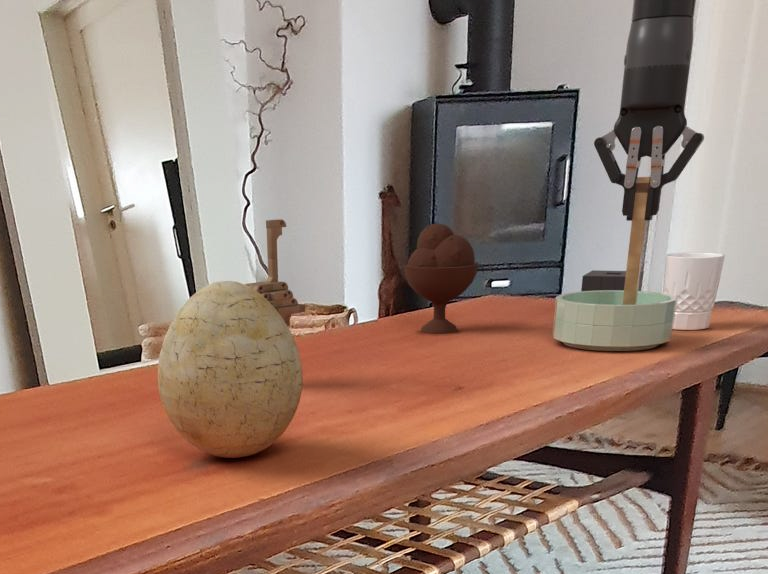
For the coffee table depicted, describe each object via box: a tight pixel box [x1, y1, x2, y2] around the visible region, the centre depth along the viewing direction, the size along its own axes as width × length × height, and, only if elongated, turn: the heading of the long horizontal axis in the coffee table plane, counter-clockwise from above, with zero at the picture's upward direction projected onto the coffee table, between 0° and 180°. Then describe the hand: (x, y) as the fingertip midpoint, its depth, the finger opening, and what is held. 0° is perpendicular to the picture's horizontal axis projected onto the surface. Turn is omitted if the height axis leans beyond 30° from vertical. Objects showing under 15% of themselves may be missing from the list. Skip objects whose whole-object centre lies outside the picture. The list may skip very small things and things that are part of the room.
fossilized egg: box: [156, 280, 304, 459], centre depth 85 cm, size 13×13×15 cm
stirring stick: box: [622, 176, 651, 305], centre depth 126 cm, size 2×2×18 cm
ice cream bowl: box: [403, 222, 480, 334], centre depth 144 cm, size 11×11×15 cm
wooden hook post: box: [244, 218, 306, 327], centre depth 109 cm, size 17×7×18 cm, turn 132°
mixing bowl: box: [551, 290, 678, 352], centre depth 132 cm, size 16×16×6 cm
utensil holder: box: [580, 270, 644, 291], centre depth 158 cm, size 8×8×6 cm
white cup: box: [662, 251, 726, 331], centre depth 141 cm, size 8×8×10 cm
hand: (639, 219), depth 125 cm, fingers closed on stirring stick, 1 cm apart
